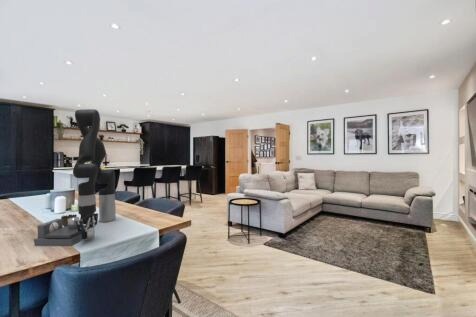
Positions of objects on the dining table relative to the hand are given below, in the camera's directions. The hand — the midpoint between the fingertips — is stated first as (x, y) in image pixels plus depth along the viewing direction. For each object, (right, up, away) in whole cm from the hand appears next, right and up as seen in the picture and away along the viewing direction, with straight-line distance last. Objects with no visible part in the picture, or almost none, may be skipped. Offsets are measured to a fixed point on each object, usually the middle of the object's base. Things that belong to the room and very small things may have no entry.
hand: (88, 236), depth 120 cm
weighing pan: (-12, +2, +2) cm, 12 cm away
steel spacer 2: (0, 0, 0) cm, 0 cm away
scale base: (-13, -2, +2) cm, 13 cm away
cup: (-23, -2, +18) cm, 29 cm away
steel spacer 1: (-11, +3, +6) cm, 13 cm away
